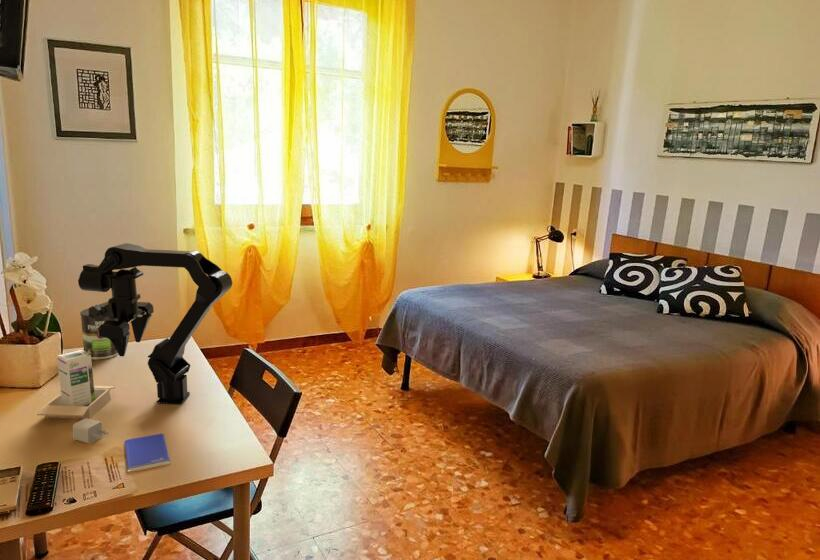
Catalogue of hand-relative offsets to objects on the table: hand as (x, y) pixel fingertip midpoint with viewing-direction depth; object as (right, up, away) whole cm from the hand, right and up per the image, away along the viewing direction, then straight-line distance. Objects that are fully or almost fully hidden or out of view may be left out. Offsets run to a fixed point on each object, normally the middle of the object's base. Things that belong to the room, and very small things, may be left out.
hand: (130, 348), depth 149 cm
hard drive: (+16, -21, -25) cm, 36 cm away
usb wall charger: (+2, -18, -21) cm, 28 cm away
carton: (-10, -14, -7) cm, 18 cm away
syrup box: (-10, -14, -7) cm, 19 cm away
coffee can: (-23, -5, +29) cm, 37 cm away
